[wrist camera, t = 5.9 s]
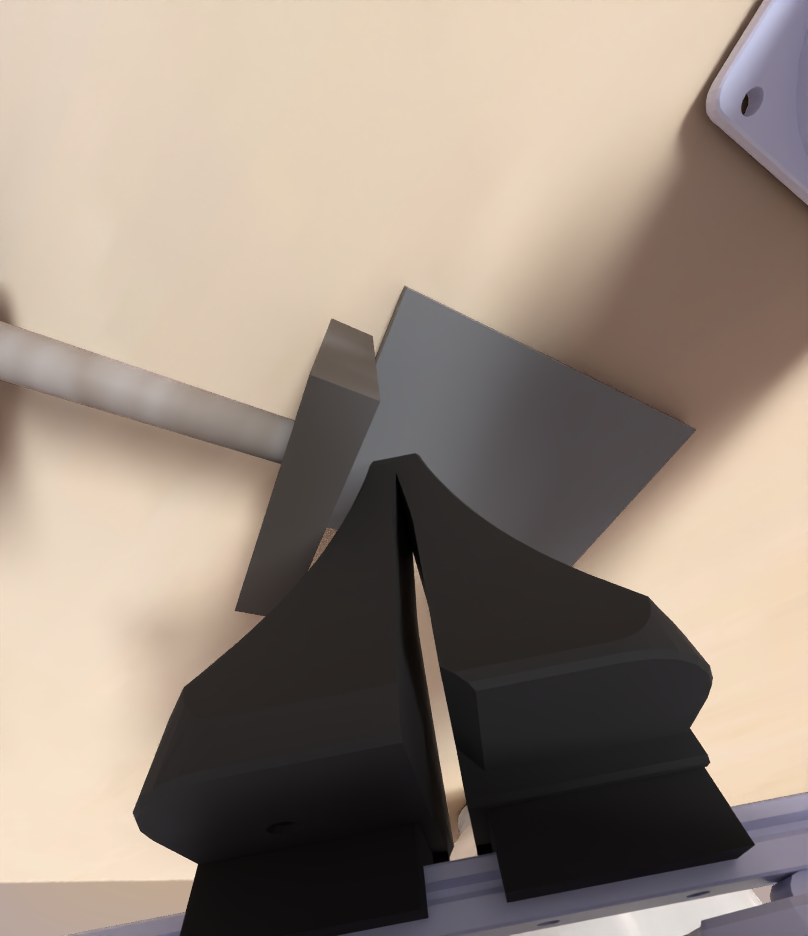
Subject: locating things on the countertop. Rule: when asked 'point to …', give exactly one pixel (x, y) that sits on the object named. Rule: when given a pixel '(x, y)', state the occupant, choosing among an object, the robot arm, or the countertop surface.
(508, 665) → the robot arm
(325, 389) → the player rod
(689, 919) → the bowl
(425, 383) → the flat gray panel
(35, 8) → the countertop surface
